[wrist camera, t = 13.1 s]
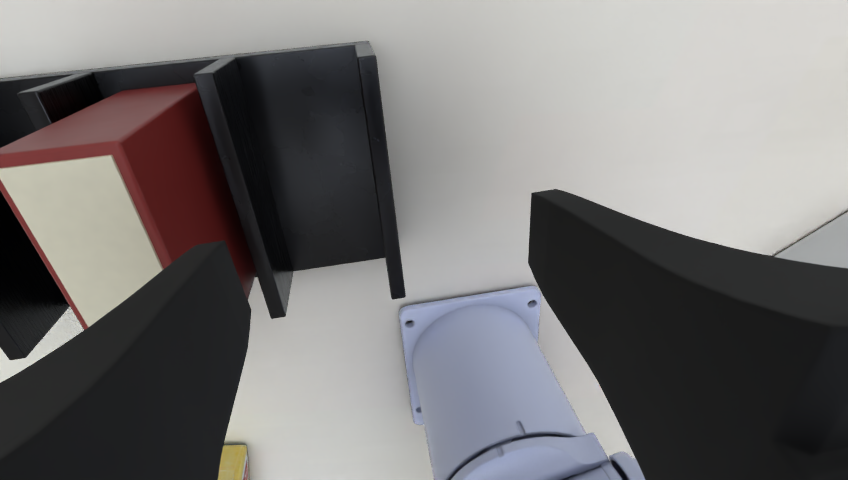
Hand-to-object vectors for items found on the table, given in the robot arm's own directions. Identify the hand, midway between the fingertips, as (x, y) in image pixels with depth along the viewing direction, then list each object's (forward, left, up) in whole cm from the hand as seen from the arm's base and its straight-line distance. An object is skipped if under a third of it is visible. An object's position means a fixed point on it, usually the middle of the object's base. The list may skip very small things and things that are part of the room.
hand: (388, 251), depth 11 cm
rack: (-1, +7, -10) cm, 13 cm away
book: (-1, +7, -9) cm, 12 cm away
